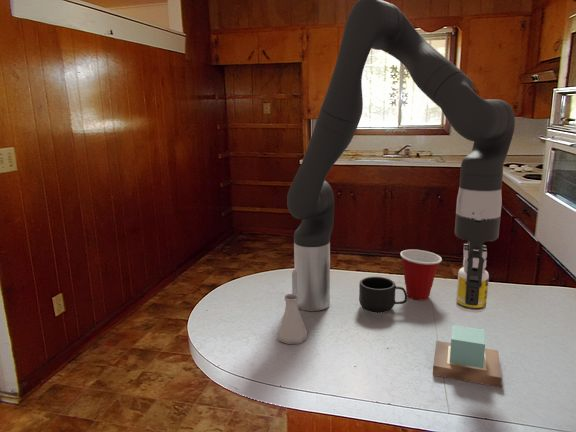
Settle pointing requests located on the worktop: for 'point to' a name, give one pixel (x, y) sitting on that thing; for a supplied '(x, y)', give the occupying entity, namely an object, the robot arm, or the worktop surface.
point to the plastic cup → (419, 272)
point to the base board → (467, 367)
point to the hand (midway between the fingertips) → (471, 297)
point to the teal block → (467, 346)
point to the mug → (378, 294)
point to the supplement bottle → (462, 291)
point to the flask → (291, 323)
